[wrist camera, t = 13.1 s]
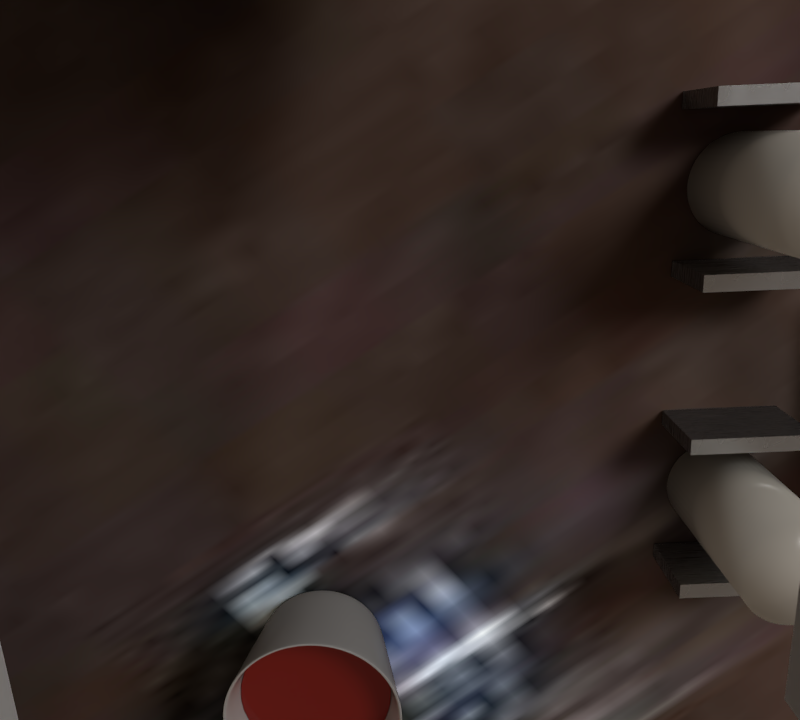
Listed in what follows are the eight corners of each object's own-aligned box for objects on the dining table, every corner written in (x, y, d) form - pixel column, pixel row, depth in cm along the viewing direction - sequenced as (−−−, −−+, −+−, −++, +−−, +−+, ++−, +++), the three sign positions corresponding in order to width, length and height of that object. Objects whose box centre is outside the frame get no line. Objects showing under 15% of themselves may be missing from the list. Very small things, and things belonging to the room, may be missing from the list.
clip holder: (683, 91, 35) (719, 85, 31) (811, 85, 35) (862, 79, 31) (653, 556, 42) (679, 598, 38) (759, 551, 42) (796, 593, 38)
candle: (214, 624, 43) (185, 703, 37) (338, 543, 42) (329, 612, 36) (310, 726, 45) (297, 817, 39) (430, 652, 44) (436, 735, 38)
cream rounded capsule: (669, 443, 40) (745, 526, 32) (762, 439, 40) (863, 521, 32) (663, 525, 42) (735, 627, 33) (753, 521, 42) (847, 622, 33)
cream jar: (690, 133, 36) (786, 132, 27) (795, 128, 36) (924, 126, 27) (683, 238, 37) (771, 269, 28) (784, 233, 37) (903, 263, 28)
